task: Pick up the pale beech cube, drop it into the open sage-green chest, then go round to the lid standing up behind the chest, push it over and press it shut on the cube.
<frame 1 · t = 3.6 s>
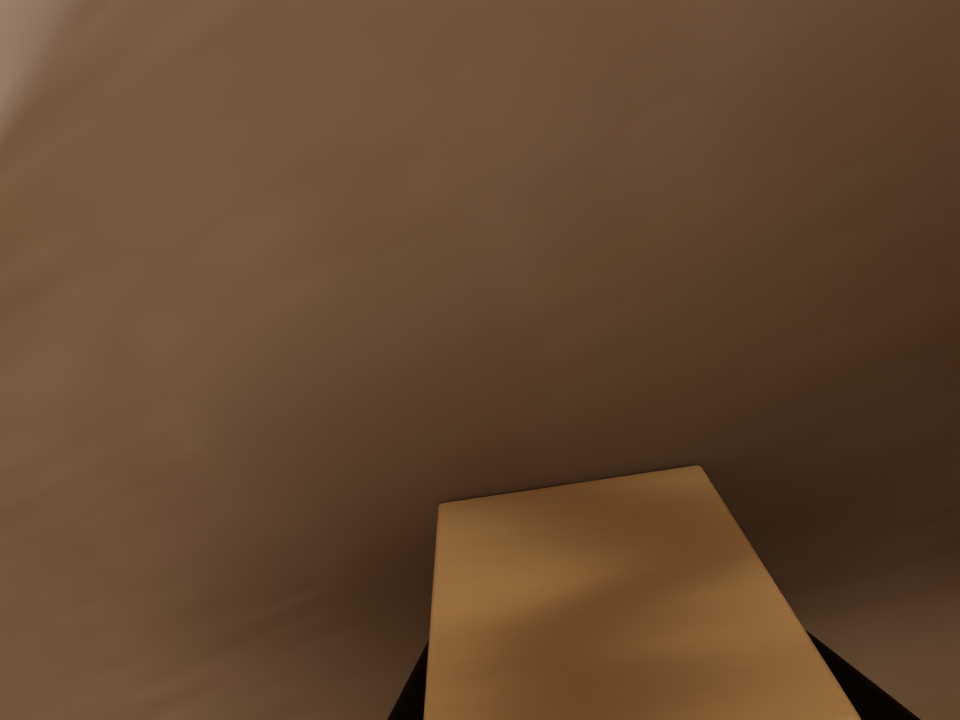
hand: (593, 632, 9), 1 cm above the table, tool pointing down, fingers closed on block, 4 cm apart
block: (580, 581, 10), on the table, touching gripper
when the fingers open (6 cm above the table, at t = 10.8 s): block drops 5 cm, resting on chest.
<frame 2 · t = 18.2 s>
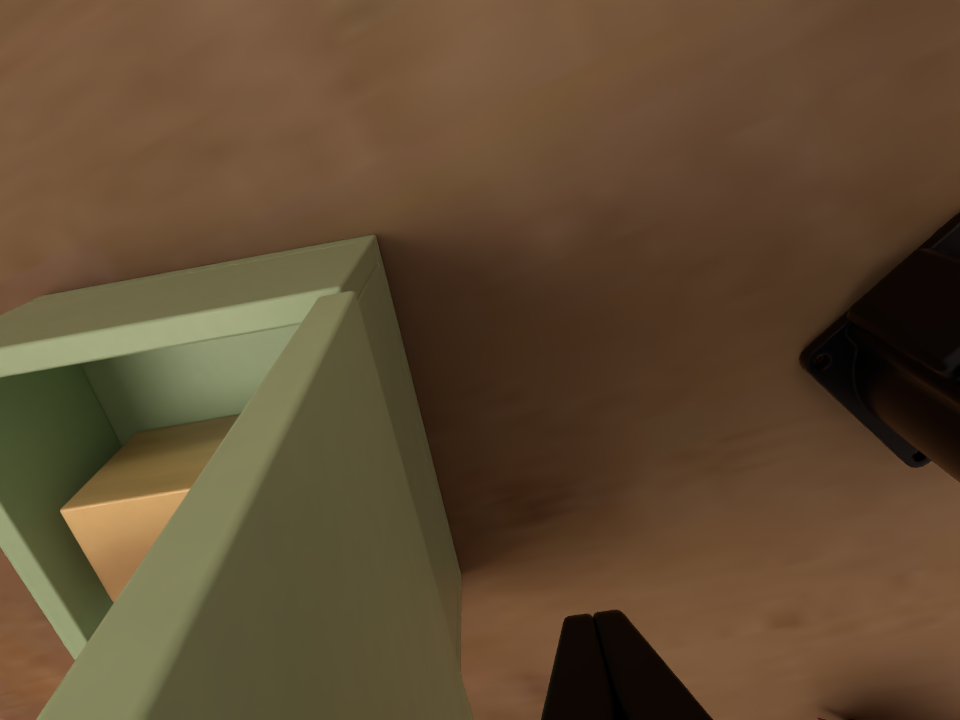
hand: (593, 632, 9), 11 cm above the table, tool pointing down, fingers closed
block: (217, 472, 20), point 1 cm above the table, touching chest
chest: (276, 452, 20), on the table
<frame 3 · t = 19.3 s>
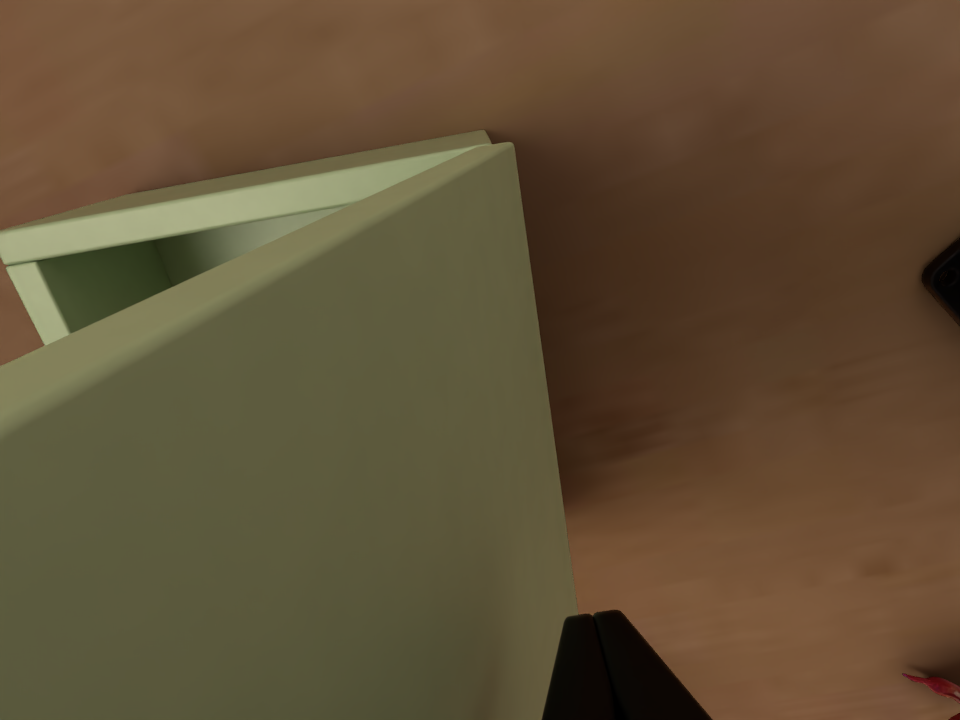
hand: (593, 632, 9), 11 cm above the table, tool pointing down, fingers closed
lid: (478, 641, 9), point 11 cm above the table, hinge at 73.6°
chest: (361, 375, 19), on the table
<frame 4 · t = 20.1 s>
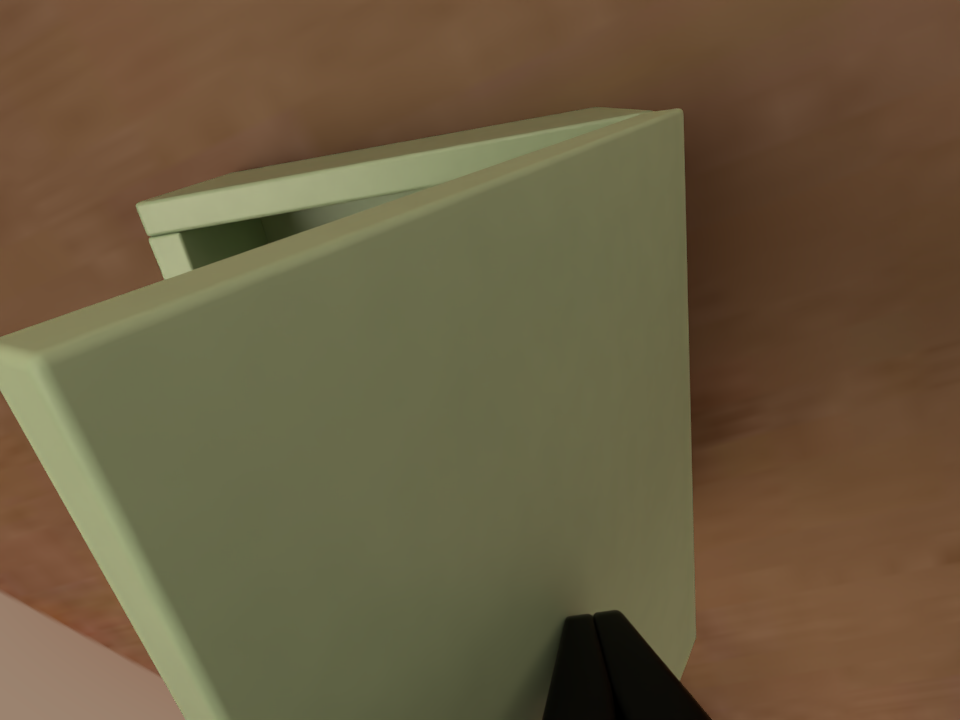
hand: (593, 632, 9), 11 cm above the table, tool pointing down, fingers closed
lid: (572, 586, 10), point 10 cm above the table, hinge at 54.9°, touching gripper
chest: (455, 358, 19), on the table
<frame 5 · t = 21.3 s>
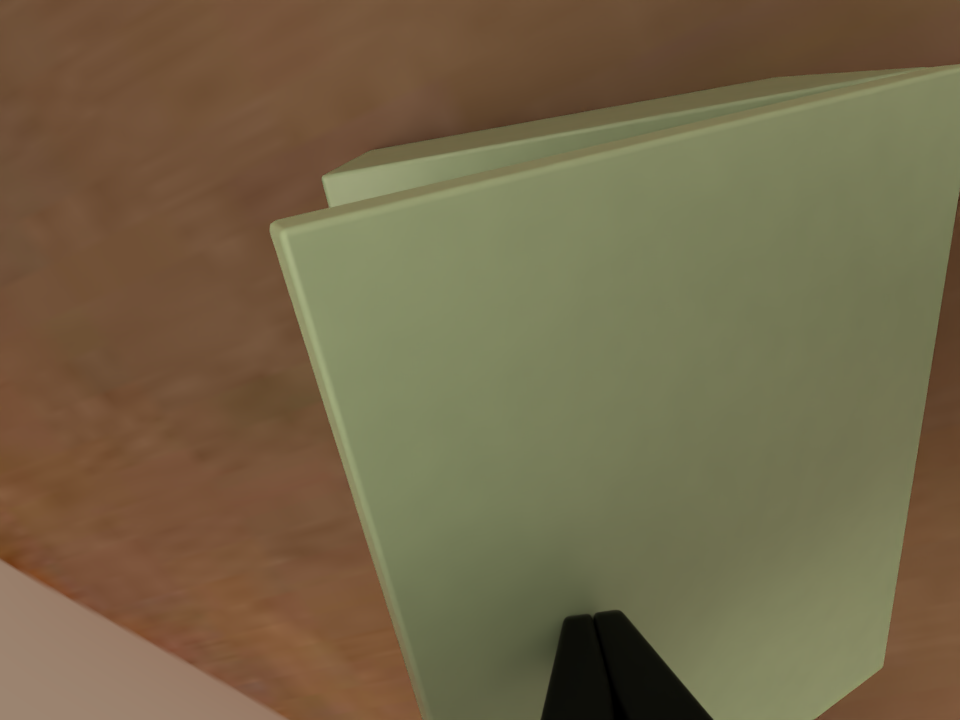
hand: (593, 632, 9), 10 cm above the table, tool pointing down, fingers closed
lid: (703, 537, 10), point 8 cm above the table, hinge at 25.1°, touching gripper
chest: (592, 355, 18), on the table
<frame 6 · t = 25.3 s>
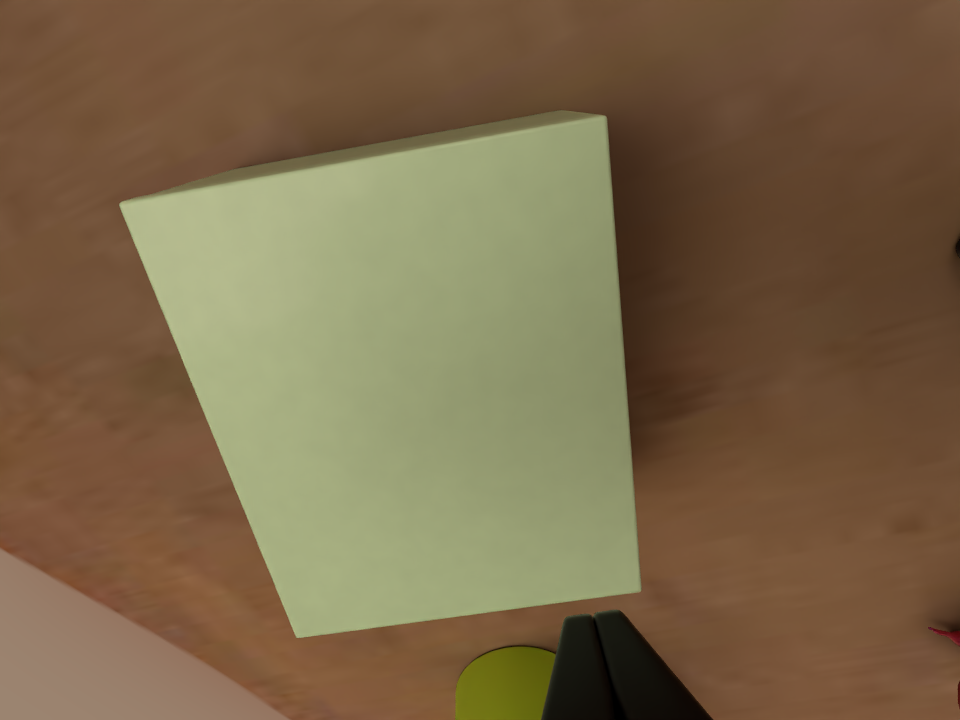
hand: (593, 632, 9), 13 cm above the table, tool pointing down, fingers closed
lid: (422, 421, 16), point 6 cm above the table, hinge at -0.3°, touching chest
soap dispenser: (508, 690, 28), on the table
chest: (437, 339, 21), on the table
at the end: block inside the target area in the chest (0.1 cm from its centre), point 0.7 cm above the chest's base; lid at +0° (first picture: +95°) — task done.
